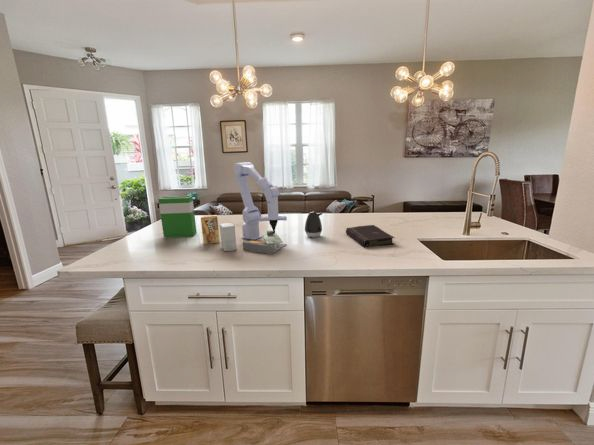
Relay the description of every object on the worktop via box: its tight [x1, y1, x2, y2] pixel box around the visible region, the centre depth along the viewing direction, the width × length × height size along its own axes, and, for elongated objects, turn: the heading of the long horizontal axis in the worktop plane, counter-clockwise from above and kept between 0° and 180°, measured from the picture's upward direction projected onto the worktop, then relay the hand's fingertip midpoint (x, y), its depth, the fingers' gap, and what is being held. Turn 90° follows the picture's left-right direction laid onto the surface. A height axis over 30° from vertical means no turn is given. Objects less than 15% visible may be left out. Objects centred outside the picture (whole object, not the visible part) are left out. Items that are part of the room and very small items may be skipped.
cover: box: [261, 230, 284, 244], centre depth 155 cm, size 16×8×3 cm, turn 15°
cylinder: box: [249, 240, 268, 245], centre depth 153 cm, size 10×3×3 cm, turn 63°
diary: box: [345, 224, 396, 248], centre depth 164 cm, size 19×25×5 cm
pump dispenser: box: [304, 210, 323, 238], centre depth 171 cm, size 10×10×15 cm
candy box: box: [200, 214, 221, 245], centre depth 164 cm, size 9×4×15 cm, turn 110°
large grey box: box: [242, 240, 287, 255], centre depth 155 cm, size 18×15×4 cm
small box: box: [219, 222, 237, 252], centre depth 154 cm, size 8×6×13 cm
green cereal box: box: [157, 195, 198, 238], centre depth 178 cm, size 18×7×24 cm, turn 94°
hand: (274, 233), depth 160 cm, fingers closed, pressing on cover
